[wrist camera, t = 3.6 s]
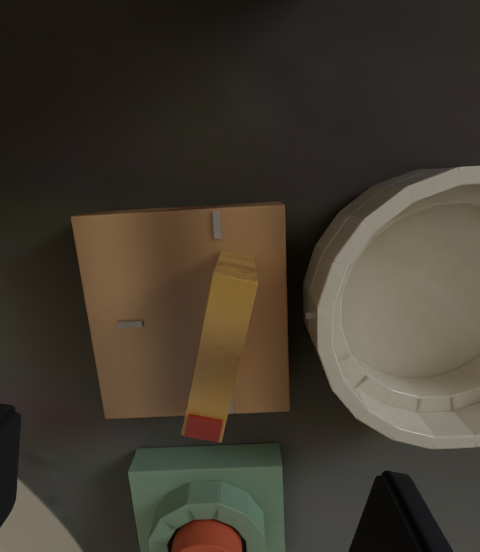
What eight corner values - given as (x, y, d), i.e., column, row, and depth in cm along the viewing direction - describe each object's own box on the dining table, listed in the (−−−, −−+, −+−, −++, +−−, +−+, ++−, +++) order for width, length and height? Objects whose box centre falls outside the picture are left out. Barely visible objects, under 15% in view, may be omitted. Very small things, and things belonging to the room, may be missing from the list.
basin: (558, 161, 20) (656, 155, 16) (523, 391, 24) (593, 443, 19) (299, 176, 21) (316, 175, 16) (302, 400, 24) (317, 454, 20)
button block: (279, 442, 25) (285, 489, 21) (282, 543, 28) (289, 602, 24) (136, 448, 26) (117, 495, 22) (151, 547, 28) (137, 606, 24)
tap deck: (319, 198, 21) (332, 201, 18) (319, 382, 24) (331, 412, 21) (93, 211, 21) (68, 216, 18) (121, 391, 24) (103, 421, 21)
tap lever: (220, 250, 19) (212, 274, 14) (254, 257, 19) (258, 284, 14) (195, 376, 21) (180, 439, 16) (226, 382, 21) (221, 447, 16)
